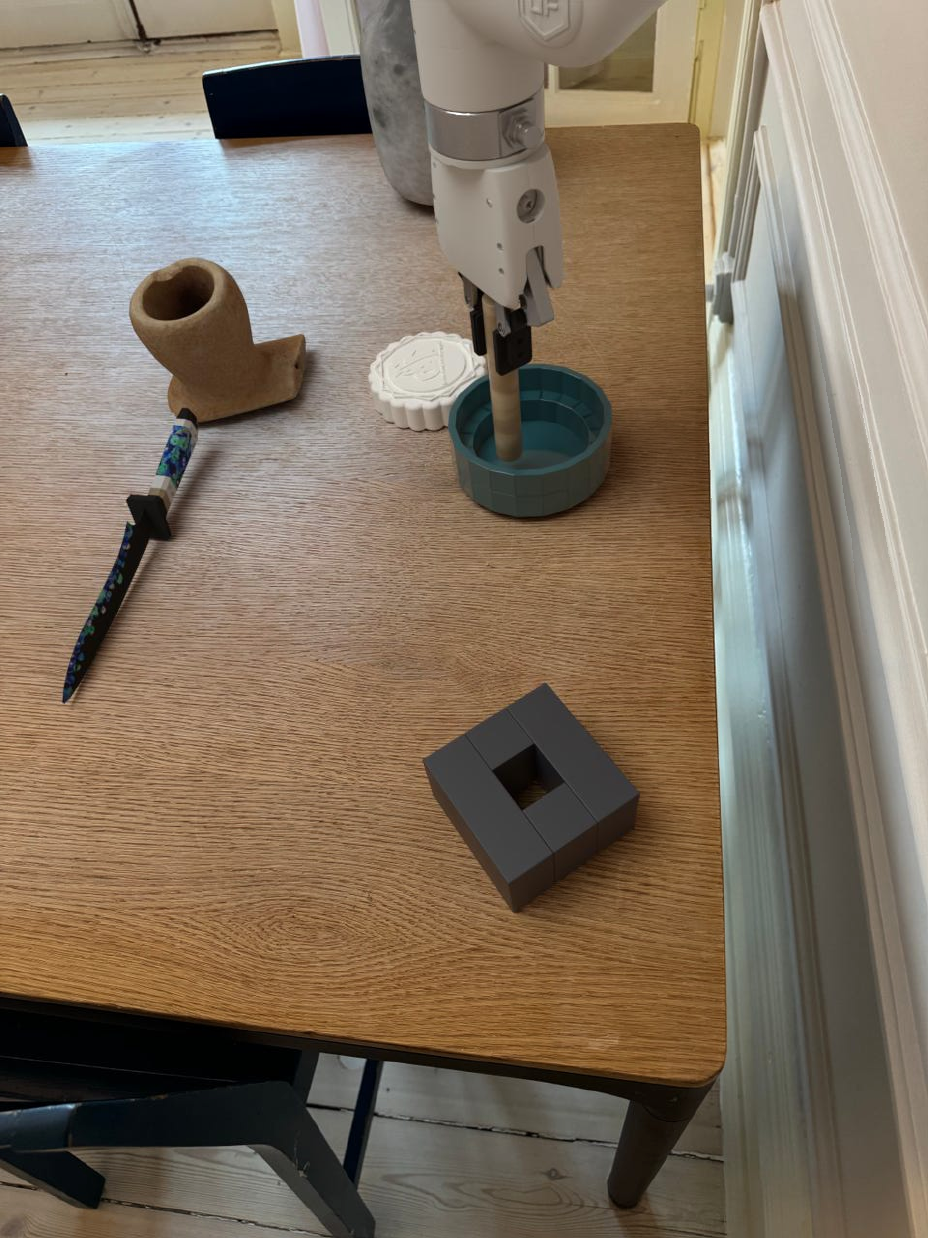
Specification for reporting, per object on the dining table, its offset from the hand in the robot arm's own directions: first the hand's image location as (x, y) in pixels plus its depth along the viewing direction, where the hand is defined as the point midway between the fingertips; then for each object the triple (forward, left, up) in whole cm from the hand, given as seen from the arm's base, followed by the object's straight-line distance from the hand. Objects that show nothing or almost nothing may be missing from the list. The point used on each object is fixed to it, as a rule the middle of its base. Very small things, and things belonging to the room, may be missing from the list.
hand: (502, 355), depth 68 cm
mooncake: (0, -15, -14) cm, 20 cm away
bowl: (-2, 0, -14) cm, 14 cm away
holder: (+18, +28, -14) cm, 36 cm away
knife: (+33, -12, -14) cm, 38 cm away
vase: (-22, -47, -14) cm, 54 cm away
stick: (0, 0, -11) cm, 11 cm away
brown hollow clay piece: (+16, -27, -14) cm, 34 cm away
